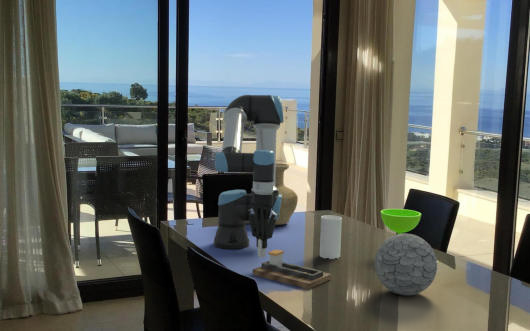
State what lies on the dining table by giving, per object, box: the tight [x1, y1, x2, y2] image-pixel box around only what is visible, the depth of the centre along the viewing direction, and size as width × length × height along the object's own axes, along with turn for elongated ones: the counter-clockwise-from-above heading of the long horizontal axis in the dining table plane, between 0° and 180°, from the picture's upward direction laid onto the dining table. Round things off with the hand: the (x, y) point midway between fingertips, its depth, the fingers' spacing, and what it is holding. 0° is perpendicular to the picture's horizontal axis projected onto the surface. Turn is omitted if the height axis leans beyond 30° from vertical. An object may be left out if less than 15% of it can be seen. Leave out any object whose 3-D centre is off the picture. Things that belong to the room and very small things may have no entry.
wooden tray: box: [252, 260, 332, 290], centre depth 206 cm, size 24×14×4 cm, turn 53°
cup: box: [319, 214, 343, 260], centre depth 234 cm, size 8×8×16 cm
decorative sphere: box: [374, 232, 438, 296], centre depth 190 cm, size 20×20×20 cm
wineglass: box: [380, 208, 422, 235], centre depth 236 cm, size 16×16×18 cm
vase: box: [268, 162, 299, 226], centre depth 290 cm, size 22×22×30 cm
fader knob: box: [268, 249, 285, 267], centre depth 210 cm, size 3×5×6 cm
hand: (261, 256), depth 214 cm, fingers closed
